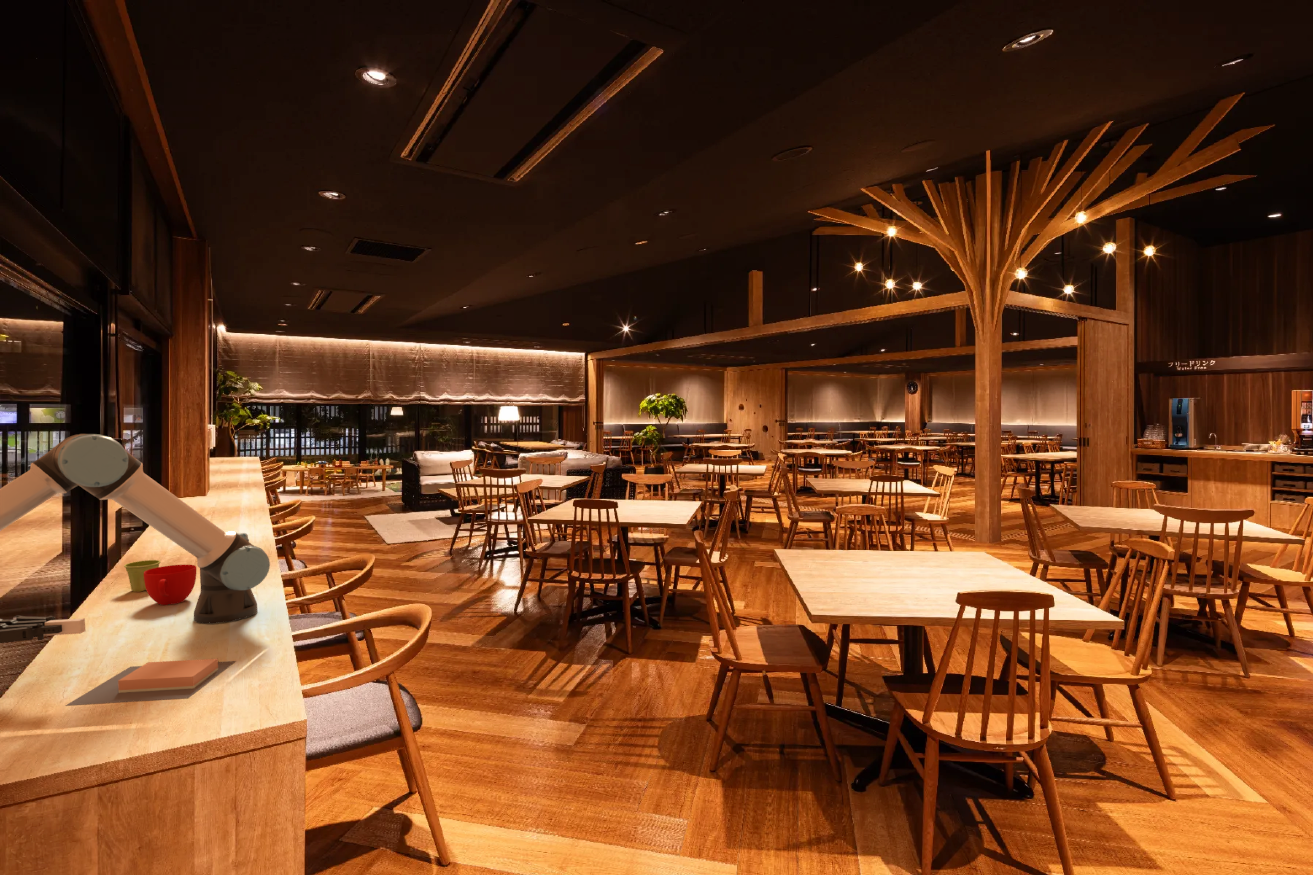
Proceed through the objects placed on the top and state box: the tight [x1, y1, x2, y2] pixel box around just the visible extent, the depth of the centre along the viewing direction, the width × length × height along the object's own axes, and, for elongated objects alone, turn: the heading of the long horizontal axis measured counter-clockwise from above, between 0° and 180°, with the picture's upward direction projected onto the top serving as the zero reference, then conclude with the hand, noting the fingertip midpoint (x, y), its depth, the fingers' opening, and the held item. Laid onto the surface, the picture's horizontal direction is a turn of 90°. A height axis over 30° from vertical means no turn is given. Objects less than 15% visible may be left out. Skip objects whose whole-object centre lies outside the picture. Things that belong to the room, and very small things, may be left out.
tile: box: [118, 658, 219, 693], centre depth 142 cm, size 2×10×14 cm
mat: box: [65, 660, 237, 707], centre depth 142 cm, size 22×20×1 cm
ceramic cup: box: [144, 564, 197, 606], centre depth 201 cm, size 13×17×10 cm
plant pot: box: [123, 559, 161, 593], centre depth 217 cm, size 9×9×9 cm
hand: (82, 625), depth 139 cm, fingers closed
